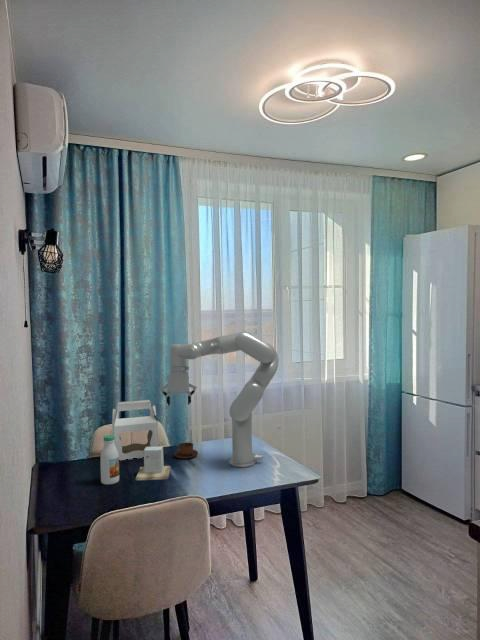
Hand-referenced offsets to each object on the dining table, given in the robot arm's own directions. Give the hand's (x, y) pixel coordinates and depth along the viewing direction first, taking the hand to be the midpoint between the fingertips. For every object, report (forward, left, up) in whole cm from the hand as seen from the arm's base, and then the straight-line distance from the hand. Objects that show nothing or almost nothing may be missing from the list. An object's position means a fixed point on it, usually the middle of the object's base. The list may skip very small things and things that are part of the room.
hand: (178, 404), depth 225 cm
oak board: (+11, +15, -28) cm, 34 cm away
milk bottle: (+29, +22, -28) cm, 46 cm away
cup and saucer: (-2, -9, -29) cm, 30 cm away
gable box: (+24, -15, -29) cm, 40 cm away
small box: (+11, +15, -27) cm, 33 cm away
